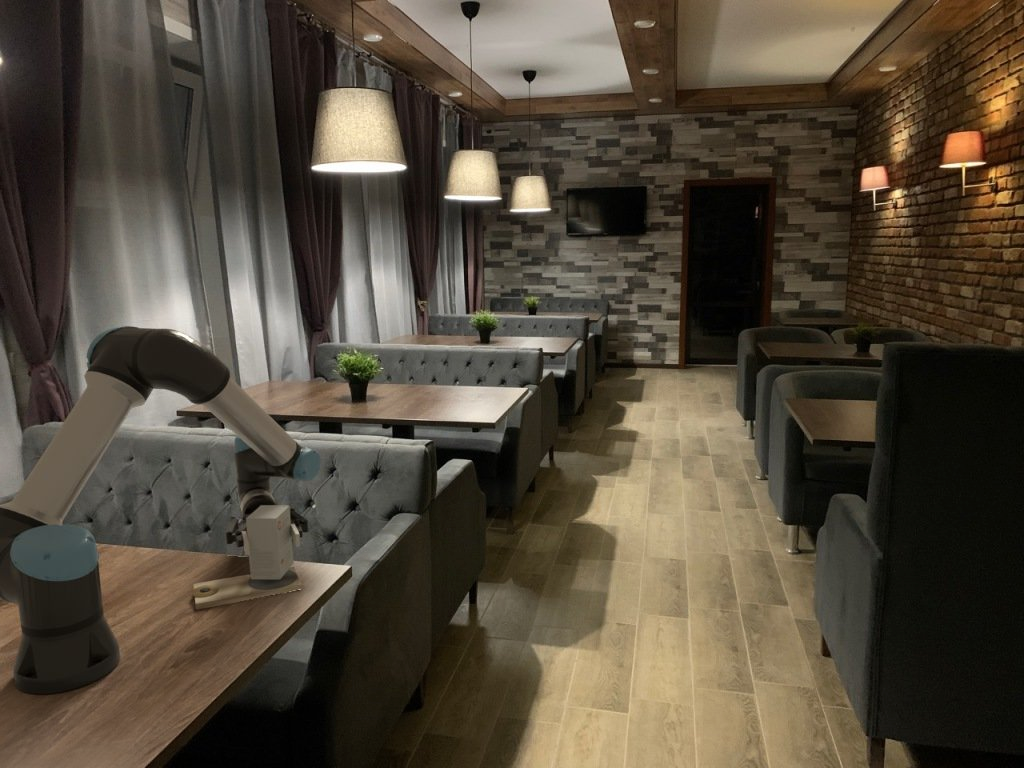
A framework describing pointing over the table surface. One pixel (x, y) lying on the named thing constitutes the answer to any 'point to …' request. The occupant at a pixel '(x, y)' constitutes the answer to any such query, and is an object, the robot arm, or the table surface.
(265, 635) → the table surface
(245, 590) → the board
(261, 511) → the small box
